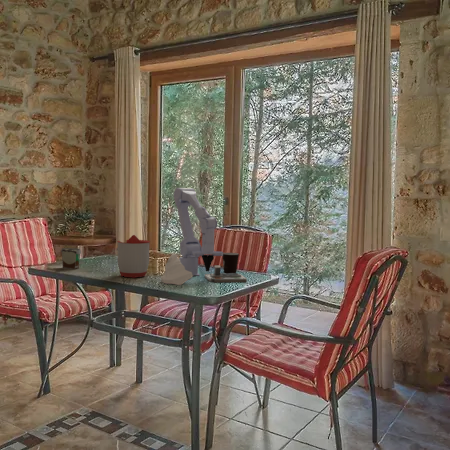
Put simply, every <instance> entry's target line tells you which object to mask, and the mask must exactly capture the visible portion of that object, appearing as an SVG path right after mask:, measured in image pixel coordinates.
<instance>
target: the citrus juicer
mask: <svg viewBox="0 0 450 450" xmlns="http://www.w3.org/2000/svg"><path fill="white" fill-rule="evenodd" d="M150 242H151V241H150V240H145V239H139V237H137V235H135V234H133V235H131V237H129V238H128V239H126V242H122V241H120V240H117V247H116V251H117V266H118V267H117V268H118V269H119V272H118V273H119V274H120V276H121V277H123V276H124V277H125V278H131V279H136V278H141V277H145V276H146V275H147V272H148V268H149V266H150V265H149V264H150Z"/></svg>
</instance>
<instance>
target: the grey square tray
mask: <svg viewBox="0 0 450 450" xmlns="http://www.w3.org/2000/svg"><path fill="white" fill-rule="evenodd" d="M208 274H209V273H205V274H204V276H205V275H208ZM211 282H212V283H247V281H246V279H212V281H211Z"/></svg>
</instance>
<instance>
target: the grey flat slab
mask: <svg viewBox="0 0 450 450" xmlns="http://www.w3.org/2000/svg"><path fill="white" fill-rule="evenodd" d="M207 274H208V275H205V274H204V278H205V279H207V281H208V282H212V279H246V282H247V277H245V275H242V274H241V273H238V272H236V273H224V272H223V273H222V272H220V274H221V275H213V274H214V273H207Z"/></svg>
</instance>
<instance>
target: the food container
mask: <svg viewBox="0 0 450 450" xmlns="http://www.w3.org/2000/svg"><path fill="white" fill-rule="evenodd" d="M60 252H61V260H62V261H61V262H62V268H64V269H69V270H78V269H80V256H81V254H82V250H81V248H77V247H66V248H65V247H64V248H63V247H62V248H61V250H60Z"/></svg>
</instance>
